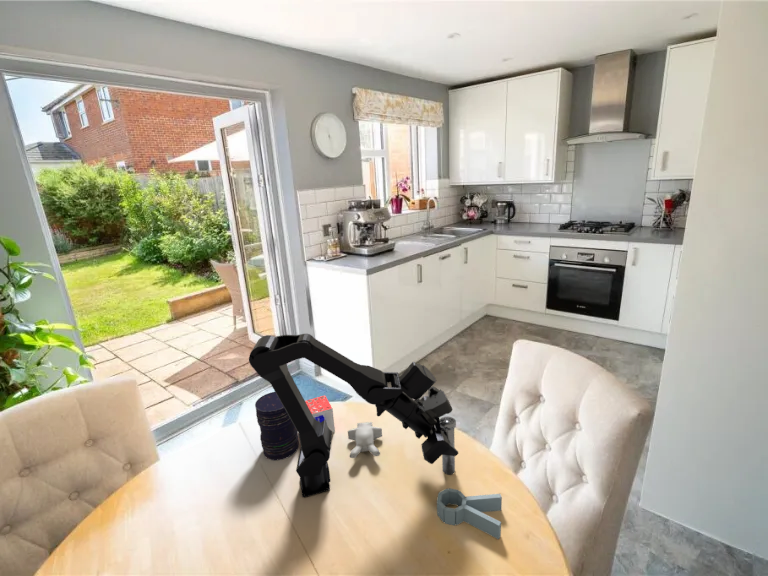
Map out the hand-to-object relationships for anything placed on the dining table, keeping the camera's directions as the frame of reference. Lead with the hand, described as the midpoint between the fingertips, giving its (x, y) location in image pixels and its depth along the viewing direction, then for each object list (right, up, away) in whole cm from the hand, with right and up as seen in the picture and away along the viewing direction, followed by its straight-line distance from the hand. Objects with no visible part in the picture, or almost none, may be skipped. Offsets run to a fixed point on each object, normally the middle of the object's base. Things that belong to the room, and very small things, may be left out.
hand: (453, 445), depth 93 cm
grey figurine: (-22, -6, +12) cm, 26 cm away
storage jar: (-45, -7, +14) cm, 48 cm away
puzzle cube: (-36, -4, +22) cm, 42 cm away
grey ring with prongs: (+1, -10, -11) cm, 15 cm away
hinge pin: (-1, -7, +2) cm, 7 cm away
